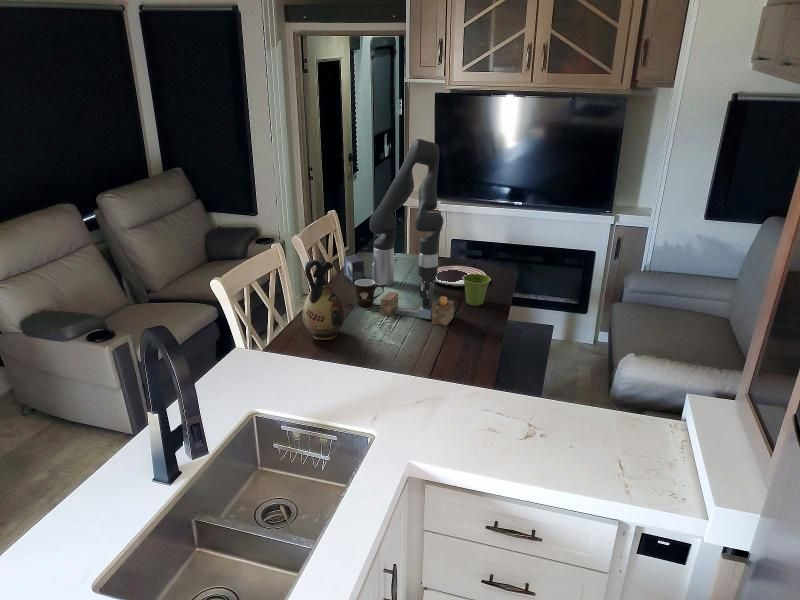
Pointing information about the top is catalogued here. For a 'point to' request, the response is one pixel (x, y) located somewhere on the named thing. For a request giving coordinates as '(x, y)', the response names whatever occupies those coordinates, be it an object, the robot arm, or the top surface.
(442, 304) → the button
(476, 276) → the plant pot
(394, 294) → the stand
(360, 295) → the coffee mug
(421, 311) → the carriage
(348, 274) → the small box
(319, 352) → the top surface
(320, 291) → the ceramic jug
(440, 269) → the dinner plate
